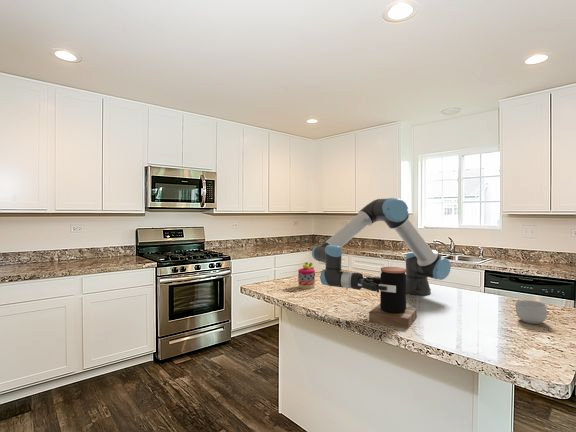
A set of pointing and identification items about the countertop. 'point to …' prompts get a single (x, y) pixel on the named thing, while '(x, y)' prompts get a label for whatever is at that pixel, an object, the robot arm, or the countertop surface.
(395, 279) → the coffee jar
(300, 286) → the cake
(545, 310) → the teacup
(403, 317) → the walnut base block
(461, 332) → the countertop surface
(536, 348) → the countertop surface
